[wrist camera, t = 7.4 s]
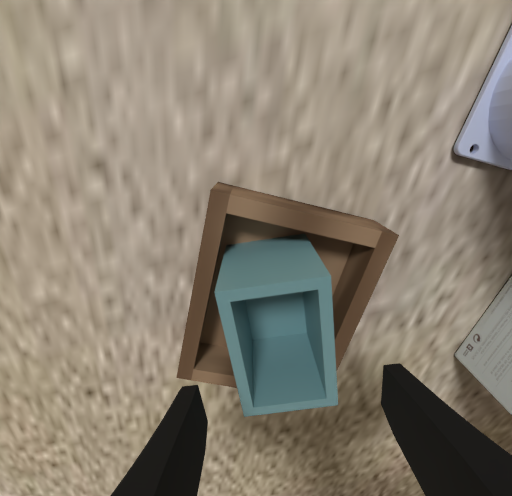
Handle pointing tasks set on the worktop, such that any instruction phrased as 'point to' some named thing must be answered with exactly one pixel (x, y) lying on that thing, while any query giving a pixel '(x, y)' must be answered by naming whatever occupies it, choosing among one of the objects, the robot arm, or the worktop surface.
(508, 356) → the supplement box
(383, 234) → the walnut crate
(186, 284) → the worktop surface
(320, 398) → the teal crate
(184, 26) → the worktop surface
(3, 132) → the worktop surface
